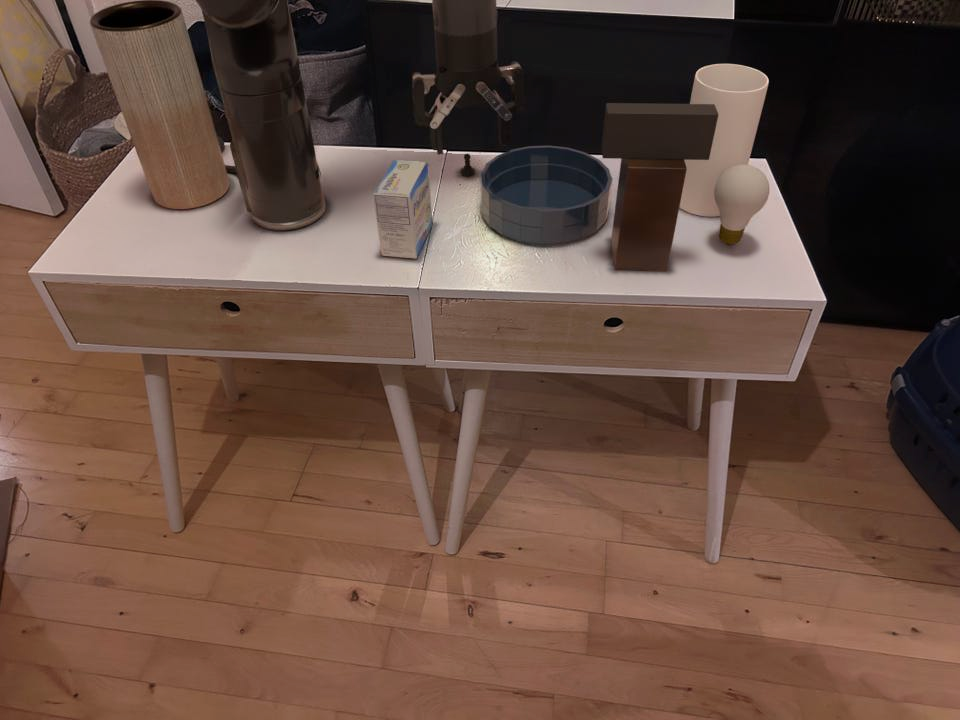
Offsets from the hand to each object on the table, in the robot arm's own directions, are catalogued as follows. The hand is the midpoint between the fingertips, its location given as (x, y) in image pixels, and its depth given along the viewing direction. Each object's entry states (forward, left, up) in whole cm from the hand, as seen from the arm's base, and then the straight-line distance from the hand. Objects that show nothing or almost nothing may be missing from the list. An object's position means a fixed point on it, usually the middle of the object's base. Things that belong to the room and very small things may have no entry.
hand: (470, 147), depth 99 cm
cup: (+29, +11, -4) cm, 32 cm away
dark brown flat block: (+27, -5, +9) cm, 29 cm away
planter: (-30, -24, -4) cm, 38 cm away
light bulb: (+35, +3, -4) cm, 36 cm away
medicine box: (+2, -17, -4) cm, 18 cm away
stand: (+27, -5, -4) cm, 28 cm away
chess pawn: (-1, 0, -4) cm, 4 cm away
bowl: (+13, -3, -4) cm, 14 cm away
